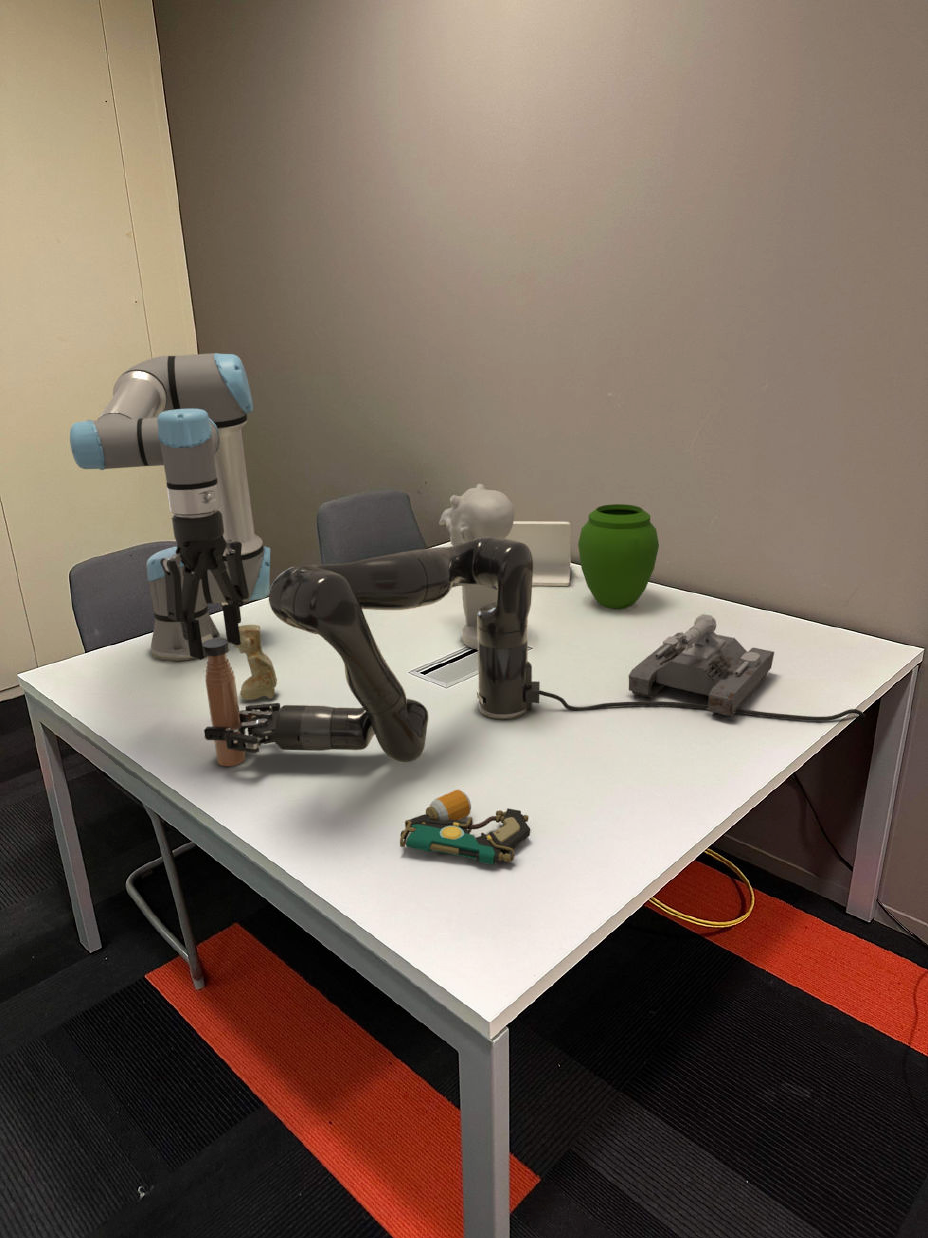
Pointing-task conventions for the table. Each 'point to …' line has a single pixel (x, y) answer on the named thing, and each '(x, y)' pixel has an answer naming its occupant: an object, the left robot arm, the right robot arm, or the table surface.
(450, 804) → the spray gun
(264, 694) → the sculpture
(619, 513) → the vase
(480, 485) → the bust sculpture
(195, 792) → the table surface
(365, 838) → the table surface
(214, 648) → the cap
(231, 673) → the bottle
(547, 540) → the tablet stand
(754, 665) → the toy
